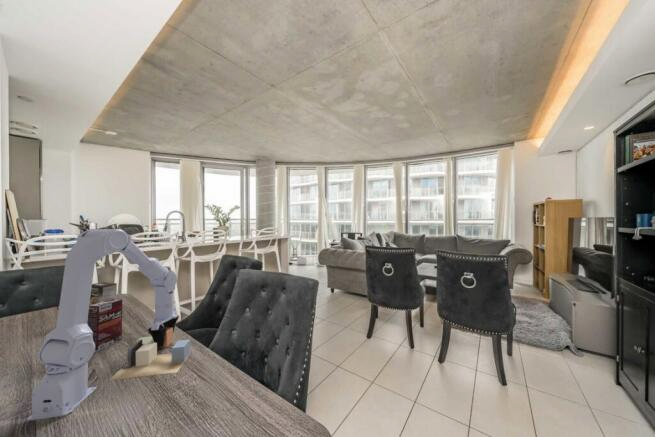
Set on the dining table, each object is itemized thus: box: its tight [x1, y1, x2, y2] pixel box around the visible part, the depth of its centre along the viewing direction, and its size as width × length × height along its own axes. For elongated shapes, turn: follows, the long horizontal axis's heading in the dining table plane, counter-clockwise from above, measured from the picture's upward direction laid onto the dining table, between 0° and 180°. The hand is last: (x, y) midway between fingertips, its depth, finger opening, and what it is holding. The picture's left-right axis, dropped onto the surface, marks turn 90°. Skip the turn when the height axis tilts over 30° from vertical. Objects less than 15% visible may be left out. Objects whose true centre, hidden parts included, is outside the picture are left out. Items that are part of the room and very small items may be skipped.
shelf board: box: [108, 350, 192, 381], centre depth 76 cm, size 12×18×1 cm
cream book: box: [136, 342, 158, 366], centre depth 78 cm, size 5×4×4 cm
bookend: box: [121, 339, 142, 369], centre depth 78 cm, size 6×2×6 cm, turn 11°
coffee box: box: [89, 281, 118, 305], centre depth 116 cm, size 9×6×16 cm
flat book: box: [136, 335, 154, 346], centre depth 91 cm, size 6×4×2 cm
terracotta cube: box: [158, 327, 174, 349], centre depth 89 cm, size 5×4×6 cm
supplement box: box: [87, 298, 123, 354], centre depth 89 cm, size 9×5×16 cm, turn 168°
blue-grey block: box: [171, 339, 191, 362], centre depth 80 cm, size 5×4×4 cm
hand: (164, 341), depth 89 cm, fingers open, 7 cm apart
